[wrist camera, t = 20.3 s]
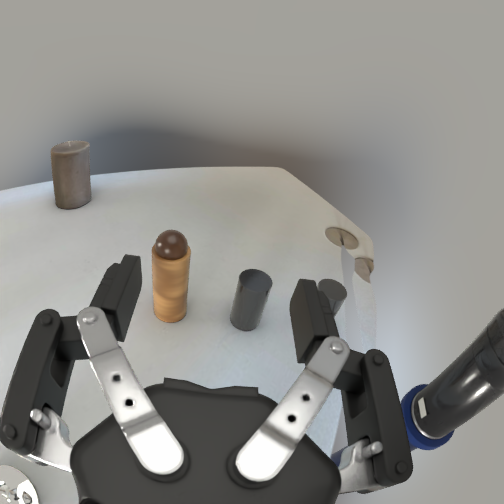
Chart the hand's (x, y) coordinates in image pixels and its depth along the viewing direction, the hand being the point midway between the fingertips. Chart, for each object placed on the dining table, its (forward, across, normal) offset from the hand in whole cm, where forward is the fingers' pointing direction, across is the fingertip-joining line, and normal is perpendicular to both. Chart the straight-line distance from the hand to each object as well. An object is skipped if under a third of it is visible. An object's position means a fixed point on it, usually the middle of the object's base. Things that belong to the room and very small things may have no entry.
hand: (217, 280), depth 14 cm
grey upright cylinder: (+17, -6, +23) cm, 29 cm away
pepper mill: (+17, +6, +23) cm, 29 cm away
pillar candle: (+45, +36, +23) cm, 62 cm away
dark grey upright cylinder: (+17, -16, +23) cm, 33 cm away
